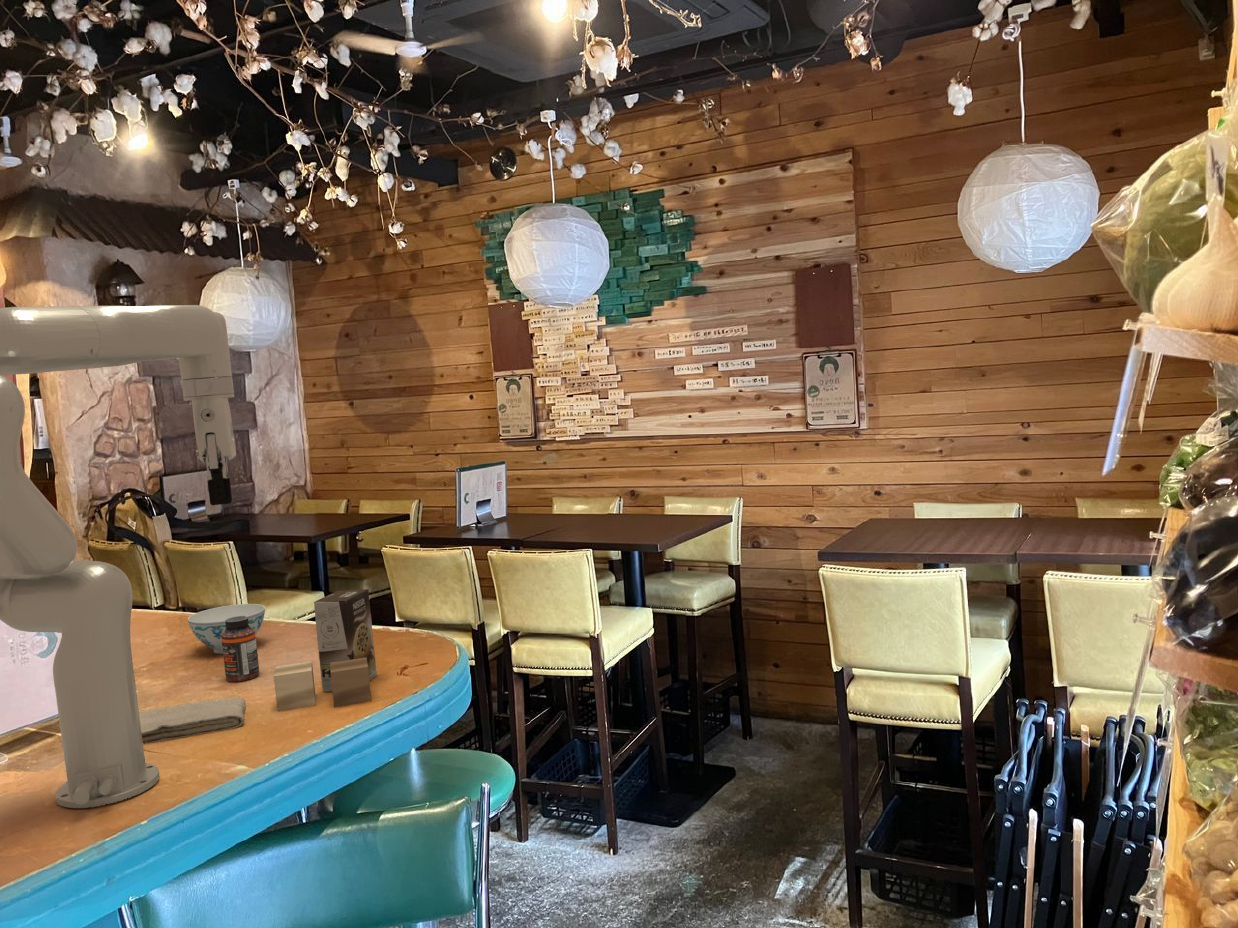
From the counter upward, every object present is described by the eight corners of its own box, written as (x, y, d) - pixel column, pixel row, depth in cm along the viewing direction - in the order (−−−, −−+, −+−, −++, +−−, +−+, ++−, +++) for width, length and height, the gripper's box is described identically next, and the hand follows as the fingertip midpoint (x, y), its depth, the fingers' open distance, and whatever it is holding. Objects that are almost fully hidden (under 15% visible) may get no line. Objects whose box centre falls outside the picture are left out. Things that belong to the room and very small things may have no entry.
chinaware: (192, 647, 209) (188, 611, 208) (266, 634, 215) (262, 600, 214) (191, 664, 195) (187, 626, 194) (271, 650, 201) (267, 613, 200)
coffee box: (355, 692, 169) (346, 600, 168) (321, 692, 170) (311, 601, 169) (378, 675, 178) (369, 588, 176) (346, 675, 179) (336, 589, 178)
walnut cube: (371, 701, 164) (367, 666, 163) (334, 707, 162) (330, 672, 161) (369, 691, 169) (366, 657, 169) (333, 696, 168) (330, 662, 167)
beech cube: (315, 705, 164) (311, 670, 163) (277, 711, 162) (273, 676, 162) (315, 694, 170) (311, 660, 169) (279, 700, 168) (275, 666, 167)
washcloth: (131, 726, 161) (129, 708, 161) (247, 707, 167) (245, 689, 167) (120, 751, 150) (117, 731, 150) (245, 729, 156) (242, 710, 155)
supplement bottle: (218, 681, 182) (211, 621, 181) (244, 671, 187) (237, 613, 186) (241, 683, 179) (234, 623, 178) (266, 673, 184) (260, 614, 183)
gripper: (229, 388, 151) (242, 506, 152) (237, 388, 165) (249, 496, 167) (176, 392, 148) (190, 511, 150) (188, 392, 163) (201, 501, 164)
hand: (221, 503), depth 158 cm, fingers closed
